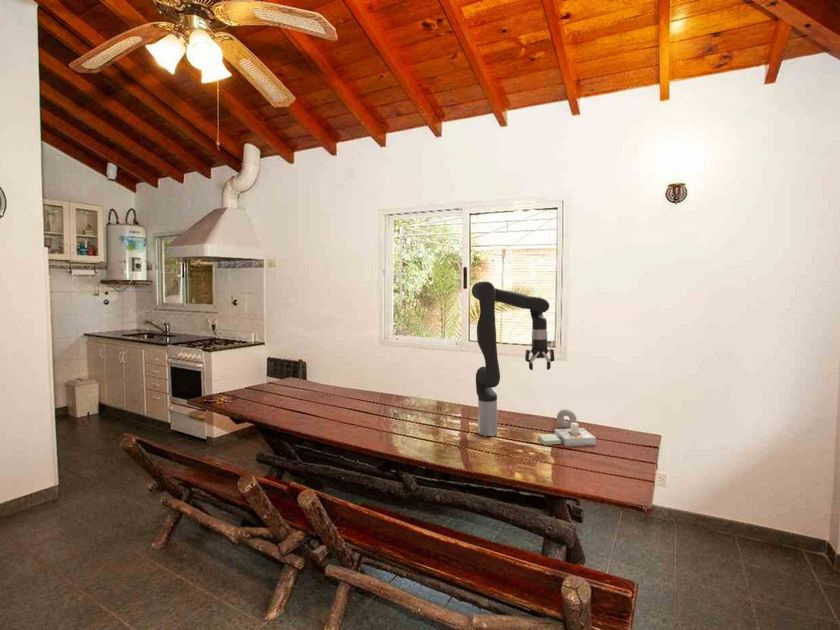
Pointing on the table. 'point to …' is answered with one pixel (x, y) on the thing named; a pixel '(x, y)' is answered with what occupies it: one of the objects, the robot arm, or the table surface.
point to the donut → (562, 422)
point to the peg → (574, 428)
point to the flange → (575, 437)
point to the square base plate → (549, 439)
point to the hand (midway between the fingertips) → (539, 369)
